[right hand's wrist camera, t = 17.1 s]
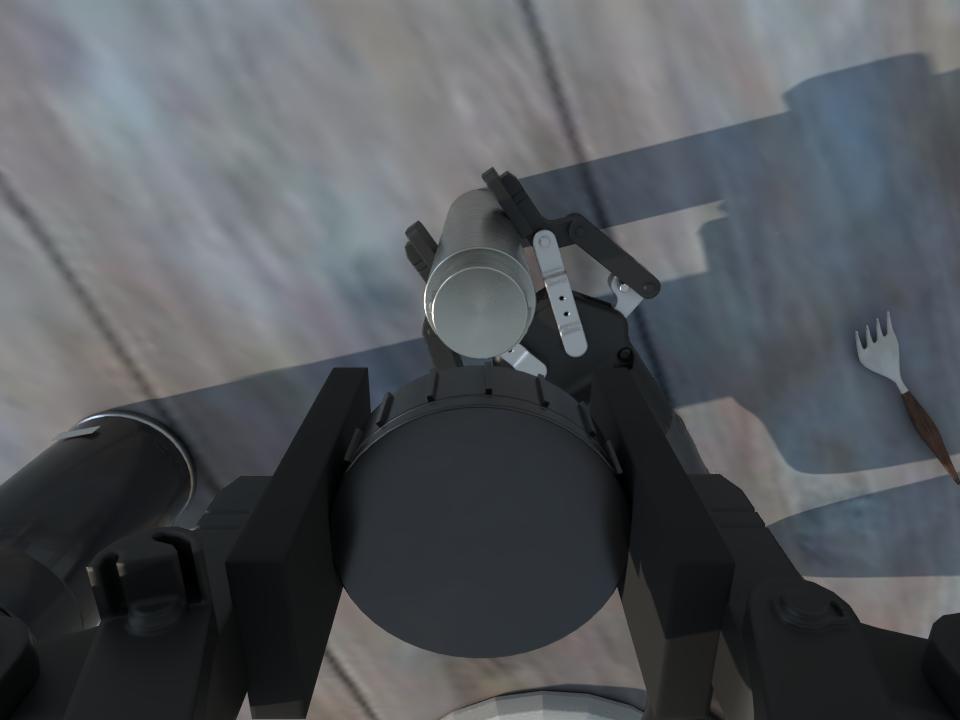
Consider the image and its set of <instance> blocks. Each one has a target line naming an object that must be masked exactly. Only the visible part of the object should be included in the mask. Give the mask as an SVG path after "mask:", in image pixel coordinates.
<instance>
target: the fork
mask: <svg viewBox="0 0 960 720" xmlns="http://www.w3.org/2000/svg"><path fill="white" fill-rule="evenodd" d="M876 332H877V341H876V342H875V343H873V341H872V338H871V335H870V332H869V328H868V325H866V340H867V347H866V349H863V348H862V345H861V342H860V339H859V336H858V332H857V331H855V336H856V346H857V352H858V357H859V360H860V362H861V363H862V365H864V366H865V367H866V368H868V369H869V370H871V371H873V372H876V373H878V374H880V375H883V376H885V377H887V378H889V379H891V380H892V381H894V382H895V384H896V385H897V387H898V389H899V391H900V394H901V396H902V398H903V401H904V403H905V406H906V409H907V411H908V414H909V416H910V418H911V421H912V423H913V425H914V427H915V429H916V431H917V432H918V434H919V435H920V437H921V438H922V439H923V441H924V442H925V443H926V444H927V446H928V447H929V448H930V449H931V450H932V452H933V453H934V454H935V455H936V457H937V458H938V459H939V461H940V462H941V463H942V465H943V466H944V467H945V469H946V470H947V471H948V473H949V474H950V475H951V477H952V478H953V479H954V481H955V482H956V483H957V484H958V485H959V484H960V481H959V478H958V476H957V473H956V471H955V469H954V467H953V464H952V462H951V460H950V458H949V455H948V453H947V451H946V448H945V446H944V443H943V441H942V438H941V436H940V434H939V432H938V429H937V428H936V426H935V424H934V423H933V421H932V420H931V418H930V417H929V416H928V414H927V413H926V412H925V410H924V409H923V408H922V407H921V405H920V404H919V403H918V402H917V400H916V399H915V398H914V397H913V395H912V394H911V393H910V392H909V390H908V389H907V388H906V386H905V385H904V383H903V382H902V379H901V376H900V367H899V345H898V340H897V338H896V335H895V333H894V331H893V328H892V324H891V320H890V312H889V311H887V335H886V336H885V337H884V336H883V335H882V331H881V328H880V324H879V319H878V318H876Z"/></svg>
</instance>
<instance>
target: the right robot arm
mask: <svg viewBox="0 0 960 720" xmlns="http://www.w3.org/2000/svg"><path fill="white" fill-rule="evenodd" d="M370 415H371V409H370V394H369V379H368V368H333V369H332V371H331V373H330V375H329V377H328V378H327V380H326V382H325V384H324V385H323V387H322V389H321V391H320V393H319V394H318V396H317V398H316V400H315V402H314V403H313V405H312V407H311V409H310V411H309V412H308V414H307V416H306V418H305V419H304V421H303V423H302V425H301V427H300V428H299V430H298V432H297V434H296V436H295V437H294V439H293V441H292V443H291V445H290V446H289V448H288V450H287V452H286V453H285V455H284V457H283V459H282V461H281V462H280V464H279V466H278V468H277V470H276V471H275V473H274V475H273V476H240V477H239V478H238V479H236V480H235V481H234V482H232V483H231V484H229V485H228V486H227V487H225V488H224V489H222V490H221V491H220V492H218V494H217V495H216V497H215V498H214V500H213V501H212V503H211V504H210V506H209V507H208V509H207V510H206V514H204V515H203V516H202V518H201V519H200V521H199V522H198V524H197V525H196V530H193V531H192V530H188V529H184V528H180V527H155V528H151V529H147V530H143V531H139V532H134V533H132V534H130V535H128V536H125V537H123V538H121V539H119V540H116V541H114V542H113V543H111V544H110V545H108V546H107V547H106V548H104V549H103V550H101V551H100V552H99V553H97V554H96V556H95V557H94V558H93V559H92V561H91V562H90V563H89V565H88V566H87V567H86V568H87V571H88V575H89V579H90V582H91V586H92V590H93V593H94V597H95V601H96V604H97V608H98V612H99V615H100V619H101V622H100V624H99V626H96V627H93V628H90V629H86V630H83V631H79V632H74V633H70V634H66V635H61V636H57V637H52V638H48V639H44V640H39V641H35V642H33V639H32V636H31V633H30V630H29V627H28V626H27V625H26V624H25V623H24V622H22V621H21V620H20V619H19V618H15V617H8V616H2V615H0V720H236V718H237V716H238V713H239V711H240V708H241V706H242V703H243V701H244V698H245V696H246V693H247V692H248V698H249V704H250V709H251V715H252V719H306V715H307V712H308V708H309V705H310V701H311V698H312V694H313V691H314V687H315V684H316V680H317V677H318V673H319V670H320V666H321V663H322V659H323V656H324V652H325V649H326V645H327V642H328V638H329V635H330V631H331V628H332V624H333V621H334V617H335V613H336V610H337V606H338V603H339V599H340V596H341V592H342V589H343V585H342V584H341V581H340V579H339V577H338V575H337V573H336V570H335V568H334V564H333V559H332V551H331V541H330V530H329V513H330V508H331V503H332V500H333V497H334V494H335V491H336V489H337V486H338V483H339V481H340V478H341V475H342V473H343V470H344V467H345V465H343V464H342V461H343V458H344V456H345V453H346V451H347V448H348V445H349V443H350V440H351V438H352V435H353V433H354V431H355V429H356V428H358V429H361V427H362V425H363V424H364V423H365V421H366V420H367V419H368V417H369V416H370ZM590 416H591V417H592V418H593V419H594V420H595V422H596V424H597V425H598V427H599V429H600V430H601V432H602V434H603V435H604V438H605V440H606V441H609V440H611V442H612V445H613V447H614V450H615V453H616V455H617V458H618V460H619V463H620V465H621V468H622V470H623V473H624V476H625V477H623V478H621V482H622V484H623V487H624V490H625V492H626V495H627V498H628V502H629V506H630V510H631V516H632V524H631V535H630V545H629V554H628V563H627V566H626V569H625V571H624V573H623V576H622V578H621V581H620V582H619V584H618V586H617V588H618V591H619V595H620V598H621V602H622V605H623V609H624V612H625V616H626V619H627V623H628V626H629V630H630V633H631V637H632V640H633V644H634V647H635V651H636V654H637V658H638V661H639V665H640V668H641V672H642V675H643V679H644V682H645V686H646V690H647V693H648V697H649V700H650V704H651V707H652V711H653V714H654V718H655V719H708V717H709V712H710V706H711V700H712V695H713V689H714V691H715V694H716V696H717V699H718V701H719V704H720V706H721V709H722V711H723V714H724V716H725V720H960V613H956V614H949V615H943V616H942V617H941V618H939V619H938V620H937V621H936V622H935V623H933V626H932V629H931V632H930V635H929V638H928V639H924V638H920V637H915V636H911V635H907V634H902V633H898V632H893V631H889V630H885V629H880V628H876V627H873V626H870V625H866V624H863V623H860V621H859V619H858V617H857V616H856V614H855V613H854V611H853V610H852V608H851V607H850V605H849V604H847V603H846V602H845V601H844V600H842V599H841V598H840V597H839V596H838V595H836V594H835V593H834V592H832V591H830V590H828V589H826V588H824V587H822V586H820V585H818V584H816V583H814V582H811V581H807V580H803V579H802V577H801V576H800V575H799V573H798V572H797V570H796V569H795V567H794V566H793V564H792V563H791V561H790V560H789V558H788V557H787V555H786V554H785V552H784V551H783V550H782V548H781V547H780V545H779V544H778V542H777V541H776V539H775V538H774V536H773V535H772V533H771V532H770V530H769V529H768V528H765V523H764V522H763V520H762V519H761V517H760V516H759V514H758V513H757V512H755V508H754V507H753V505H752V504H751V503H750V501H749V500H748V498H747V497H746V495H745V494H744V492H743V491H742V490H741V489H740V488H738V487H737V486H736V485H734V484H733V483H731V482H730V481H729V480H727V479H726V478H724V477H723V476H722V475H720V474H686V472H685V471H684V469H683V467H682V465H681V463H680V462H679V460H678V458H677V456H676V455H675V453H674V451H673V449H672V447H671V446H670V444H669V442H668V440H667V438H666V437H665V435H664V433H663V431H662V429H661V428H660V426H659V424H658V422H657V421H656V419H655V417H654V415H653V413H652V412H651V410H650V408H649V406H648V404H647V403H646V401H645V399H644V397H643V395H642V394H641V392H640V390H639V388H638V387H637V385H636V383H635V381H634V379H633V378H632V376H631V374H630V372H629V370H628V369H627V368H593V370H592V385H591V400H590Z"/></svg>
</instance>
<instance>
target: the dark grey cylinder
mask: <svg viewBox="0 0 960 720" xmlns="http://www.w3.org/2000/svg"><path fill="white" fill-rule="evenodd" d="M424 309H425V314H426V317H427V320H428V322H429V324H430V326H431V328H432V329H433V331H434V332H435V334H436V335H437V336H438V337H439V338H440V339H441V341H442V342H443V343H444V344H445V345H446V346H447V347H448V348H450V349H451V350H453V351H454V352H456V353H458V354H460V355H462V356H465V357H469V358H476V359H488V358H492V357H495V356H500V355H502V354H504V353H506V352H508V351H510V350H512V349H513V348H514V347H515V346H516V345H517V344H518V343H520V342H521V340H522V338H523V337H524V335H525V334H526V333H527V330H528V328H529V326H530V325H531V322H532V320H533V317H534V314H535V309H536V292H535V288H534V284H533V281H532V277H531V274H530V271H529V267H528V264H527V261H526V258H525V254H524V251H523V248H522V244H521V241H520V238H519V234H518V231H517V230H516V228H515V226H514V224H513V223H512V222H511V221H510V219H509V218H508V216H507V215H506V213H505V212H504V210H503V209H502V207H501V206H500V204H499V203H498V201H497V200H496V198H495V197H494V195H493V194H492V192H490V191H486V190H474V191H470V192H467V193H465V194H463V195H462V196H460V197H459V198H458V199H457V200H456V201H455V202H454V203H453V204H452V206H451V208H450V209H449V212H448V215H447V218H446V221H445V225H444V228H443V231H442V235H441V238H440V241H439V244H438V248H437V251H436V254H435V258H434V261H433V264H432V268H431V271H430V274H429V278H428V281H427V284H426V288H425V293H424Z"/></svg>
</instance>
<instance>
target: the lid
mask: <svg viewBox="0 0 960 720" xmlns="http://www.w3.org/2000/svg"><path fill="white" fill-rule="evenodd" d="M342 464H343V465H345V467H344V470H343V473H342V475H341V478H340V481H339V483H338V486H337V489H336V491H335V494H334V497H333V500H332V503H331V508H330V513H329V530H330V541H331V551H332V559H333V564H334V568H335V570H336V573H337V575H338V577H339V579H340V581H341V584H342V585H343V587H344V588H345V590H346V592H347V593H348V595H349V596H350V598H351V599H352V600H353V601H354V603H355V604H356V605H357V606H358V607H359V608H360V610H361V611H362V612H363V613H364V614H365V615H367V616H368V617H369V618H370V619H371V620H372V621H373V622H374V623H376V624H377V625H378V626H380V627H381V628H383V629H384V630H385V631H387V632H388V633H390V634H392V635H394V636H395V637H397V638H399V639H401V640H403V641H405V642H407V643H409V644H412V645H414V646H417V647H419V648H422V649H425V650H429V651H432V652H435V653H439V654H445V655H450V656H455V657H466V658H495V657H504V656H511V655H516V654H520V653H525V652H529V651H532V650H535V649H538V648H541V647H544V646H547V645H549V644H551V643H553V642H555V641H558V640H560V639H562V638H563V637H565V636H567V635H568V634H570V633H572V632H573V631H575V630H577V629H578V628H579V627H581V626H582V625H583V624H585V623H586V622H587V621H588V620H590V619H591V618H592V617H593V616H594V615H595V614H596V613H597V612H598V611H599V610H600V609H601V608H602V607H603V606H604V604H605V603H606V602H607V601H608V599H609V598H610V597H611V595H612V594H613V593H614V591H615V589H616V587H617V586H618V584H619V582H620V581H621V578H622V576H623V573H624V571H625V569H626V566H627V563H628V554H629V545H630V535H631V524H632V516H631V510H630V506H629V502H628V498H627V495H626V492H625V490H624V487H623V484H622V482H621V478H623V477H625V476H624V473H623V470H622V468H621V465H620V463H619V460H618V458H617V455H616V453H615V450H614V447H613V445H612V442H611V440H609V441H606V440H605V438H604V435H603V434H602V432H601V430H600V429H599V427H598V425H597V424H596V422H595V420H594V419H593V418H592V417H591V416H590V413H589V411H588V408H587V405H586V404H585V403H584V402H583V401H582V402H581V403H578V402H577V401H576V400H575V399H574V398H573V397H572V396H570V395H569V394H568V393H566V392H565V391H563V390H562V389H560V388H559V387H557V386H556V385H554V384H552V383H550V382H548V381H546V380H545V378H544V375H542V374H538V375H537V376H534V375H532V374H529V373H526V372H523V371H519V370H514V369H510V368H506V367H496V366H491V362H485V366H464V367H456V368H449V369H446V370H442V371H437V368H435V369H432V370H431V372H430V374H428V375H426V376H424V377H421V378H419V379H416V380H414V381H412V382H410V383H409V384H407V385H405V386H403V387H402V388H400V389H398V390H397V391H396V392H394V393H393V394H391V393H390V392H388V393H386V394H385V396H384V399H383V402H382V403H381V404H380V405H379V406H378V407H377V408H376V409H375V410H374V411H373V412H372V413H371V415H370V416H369V417H368V419H367V420H366V421H365V423H364V424H363V425H362V427H361V429H358V428H356V429H355V431H354V433H353V435H352V438H351V440H350V443H349V445H348V448H347V451H346V453H345V456H344V458H343V461H342Z"/></svg>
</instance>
